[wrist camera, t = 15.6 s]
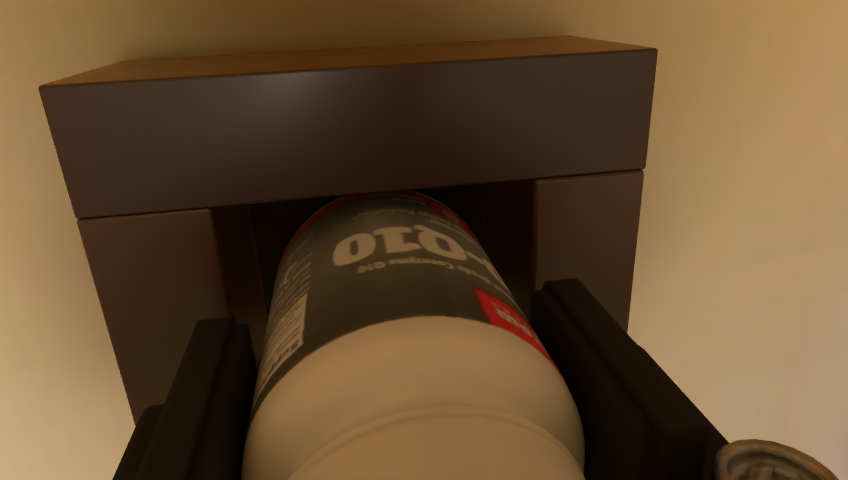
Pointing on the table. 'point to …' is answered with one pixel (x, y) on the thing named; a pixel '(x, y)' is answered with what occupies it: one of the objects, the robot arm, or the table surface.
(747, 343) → the table surface
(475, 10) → the table surface
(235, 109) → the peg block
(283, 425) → the pill bottle
